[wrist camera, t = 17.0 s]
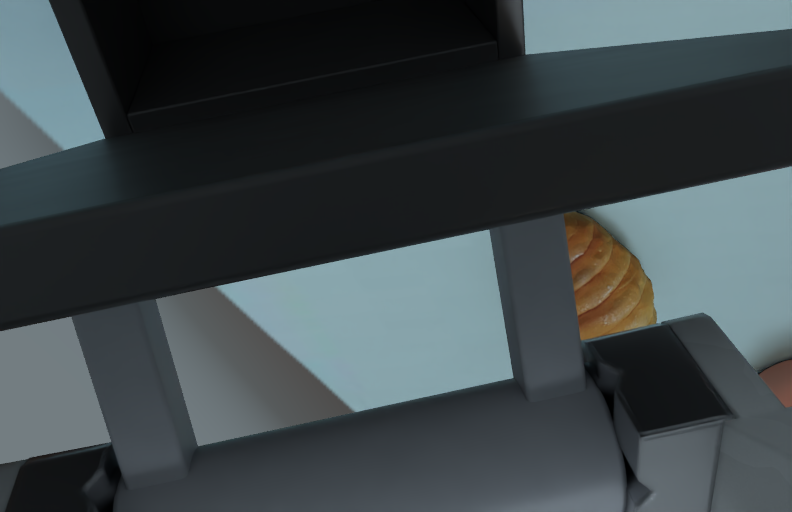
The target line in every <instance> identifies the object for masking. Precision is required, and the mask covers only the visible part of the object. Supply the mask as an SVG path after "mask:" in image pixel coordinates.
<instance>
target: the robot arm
mask: <svg viewBox="0 0 792 512" xmlns="http://www.w3.org/2000/svg"><path fill="white" fill-rule="evenodd" d="M581 346H582V353H583V360H584V368H585V370H586V371H587V372H588V373H589V374H590V376H591V377H592V379H593V380H594V382H595V384H596V386H597V387H598V388H599V389H600V391H601V393H602V394H603V396H604V398H605V400H606V403H607V405H608V407H609V410H610V413H611V415H612V418H613V427H614V430H615V434H616V437H617V441H618V444H619V446H620V448H621V449H622V453H623V457H624V463H625V469H626V476H627V488H626V493H627V499H626V508H625V511H624V512H792V407H785V406H784V405H783V404H782V403H781V401H780V400H779V399H778V398H777V397H776V395H775V394H774V393H773V392H772V390H771V389H770V388H769V387H768V386H767V384H766V383H765V382H764V381H763V380H762V378H761V377H760V376H759V375H758V373H757V372H756V371H755V370H754V369H753V367H752V366H751V365H750V364H749V363H748V361H747V360H746V359H745V358H744V357H743V355H742V354H741V353H740V352H739V350H738V349H737V348H736V347H735V346H734V344H733V343H732V342H731V341H730V340H729V338H728V337H727V336H726V335H725V333H724V332H723V331H722V330H721V329H720V327H719V326H718V325H717V324H716V323H715V321H714V320H713V319H712V318H711V317H710V316H708V315H706V314H704V313H699V314H694V315H690V316H686V317H681V318H677V319H673V320H668V321H664V322H662V323H661V324H659V323H656V324H652V325H647V326H643V327H638V328H634V329H630V330H625V331H621V332H616V333H612V334H607V335H603V336H598V337H594V338H590V339H585V340H581ZM121 475H122V473H121V470H120V467H119V464H118V461H117V457H116V454H115V451H114V448H113V445H112V442H110V443H105V444H99V445H94V446H89V447H84V448H78V449H74V450H68V451H63V452H58V453H52V454H47V455H42V456H37V457H32V458H29V459H26V460H21V461H16V462H11V463H5V464H0V512H113V504H114V497H115V494H116V492H117V487H118V483H119V480H120V477H121Z"/></svg>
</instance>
